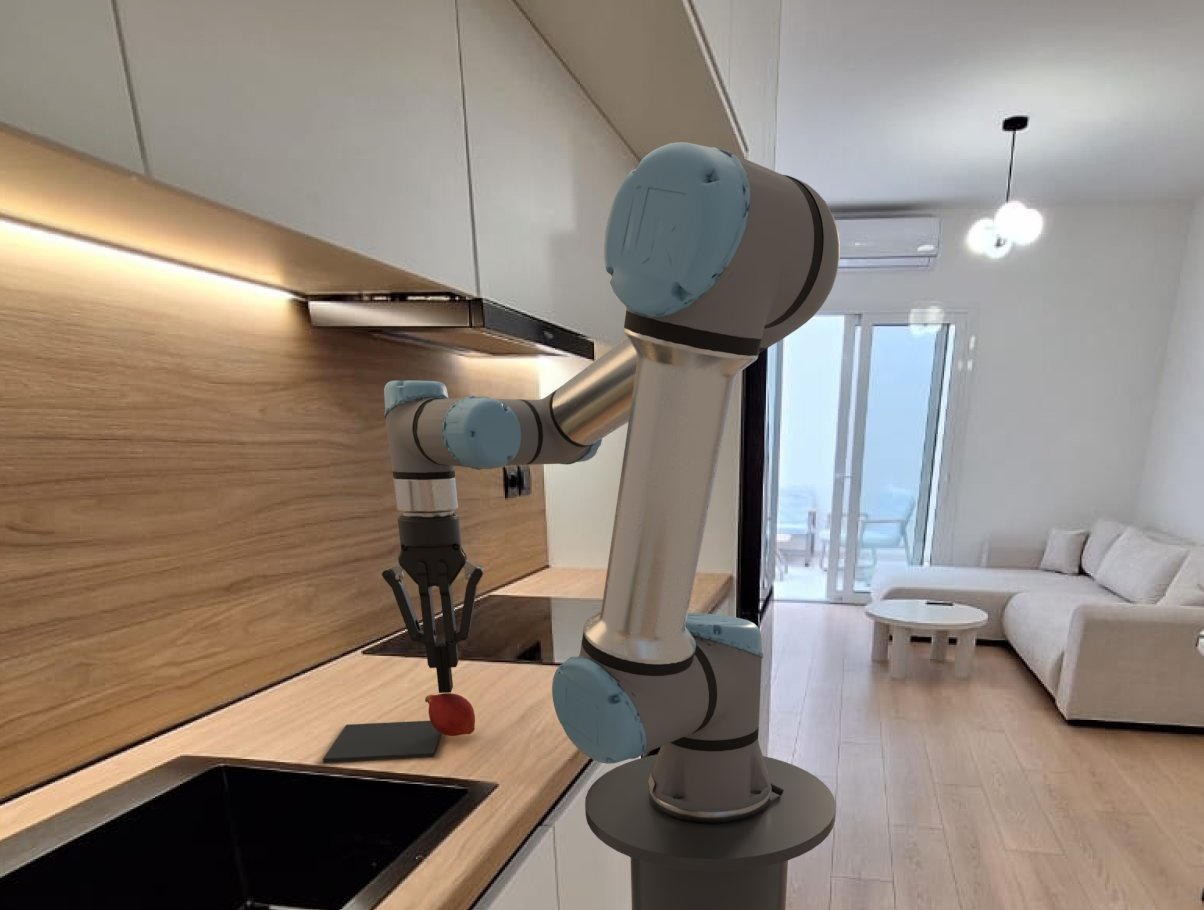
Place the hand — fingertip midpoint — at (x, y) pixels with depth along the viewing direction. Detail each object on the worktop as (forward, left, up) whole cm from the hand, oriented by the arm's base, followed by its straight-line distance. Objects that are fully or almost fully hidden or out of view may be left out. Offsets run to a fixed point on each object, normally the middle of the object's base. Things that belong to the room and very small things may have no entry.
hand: (446, 689), depth 111 cm
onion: (-3, 0, -6) cm, 7 cm away
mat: (+8, 0, -7) cm, 11 cm away
